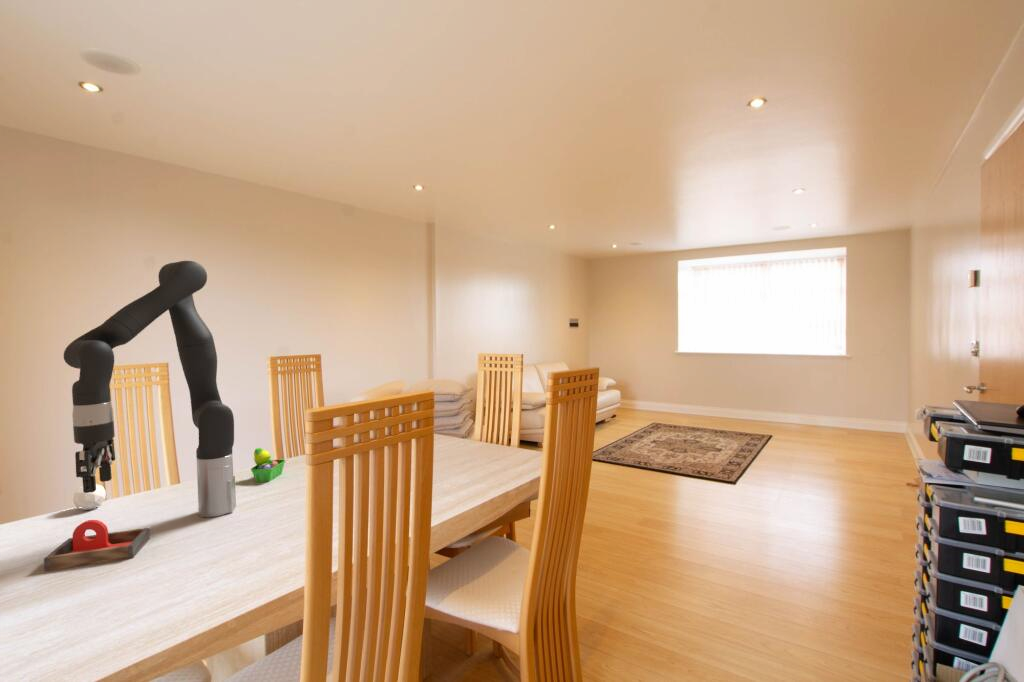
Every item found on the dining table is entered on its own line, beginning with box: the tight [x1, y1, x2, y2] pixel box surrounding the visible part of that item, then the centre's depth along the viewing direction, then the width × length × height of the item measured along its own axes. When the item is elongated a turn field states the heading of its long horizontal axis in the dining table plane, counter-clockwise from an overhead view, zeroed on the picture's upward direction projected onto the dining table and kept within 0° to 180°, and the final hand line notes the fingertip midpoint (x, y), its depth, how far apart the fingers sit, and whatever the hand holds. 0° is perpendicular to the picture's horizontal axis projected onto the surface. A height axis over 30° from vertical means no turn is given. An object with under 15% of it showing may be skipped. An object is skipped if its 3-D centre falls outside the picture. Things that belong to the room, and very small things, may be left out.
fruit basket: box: [250, 447, 286, 483], centre depth 176 cm, size 11×9×11 cm
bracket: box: [71, 519, 132, 553], centre depth 118 cm, size 12×4×8 cm, turn 106°
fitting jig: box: [43, 527, 151, 572], centre depth 119 cm, size 17×11×3 cm, turn 110°
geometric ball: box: [72, 483, 107, 511], centre depth 149 cm, size 8×8×8 cm
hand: (98, 486), depth 118 cm, fingers open, 8 cm apart
